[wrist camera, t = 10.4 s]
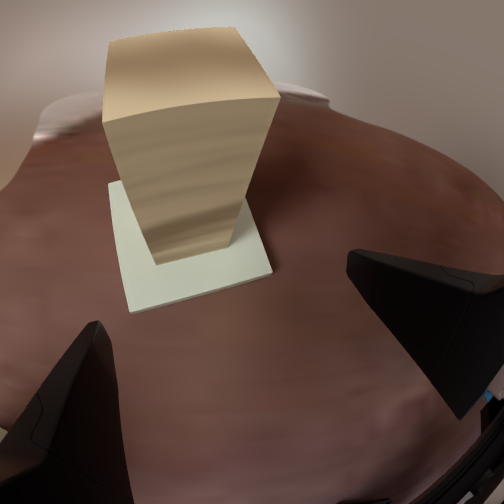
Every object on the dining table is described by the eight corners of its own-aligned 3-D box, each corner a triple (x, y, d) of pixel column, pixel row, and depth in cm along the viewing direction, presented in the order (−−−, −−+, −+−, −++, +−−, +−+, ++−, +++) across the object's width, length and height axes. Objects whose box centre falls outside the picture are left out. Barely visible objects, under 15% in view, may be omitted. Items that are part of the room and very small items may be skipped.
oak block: (227, 247, 19) (280, 96, 7) (156, 265, 18) (102, 122, 6) (208, 186, 21) (234, 27, 8) (143, 201, 19) (109, 42, 7)
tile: (269, 275, 20) (272, 272, 19) (133, 314, 17) (129, 312, 16) (228, 163, 23) (230, 156, 22) (111, 190, 20) (108, 183, 19)
